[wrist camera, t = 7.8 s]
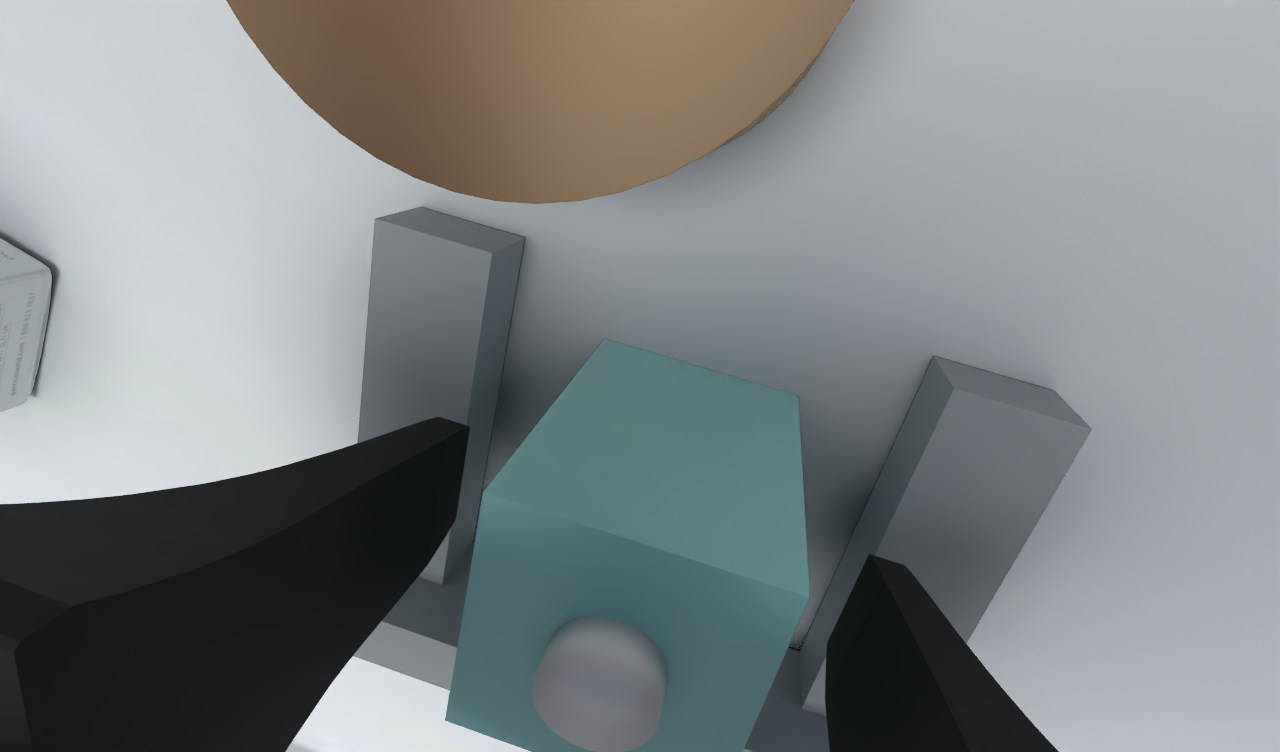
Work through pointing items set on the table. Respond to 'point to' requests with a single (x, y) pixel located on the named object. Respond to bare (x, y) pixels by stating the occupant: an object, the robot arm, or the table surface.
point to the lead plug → (637, 564)
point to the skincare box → (21, 322)
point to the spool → (541, 82)
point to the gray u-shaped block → (888, 528)
